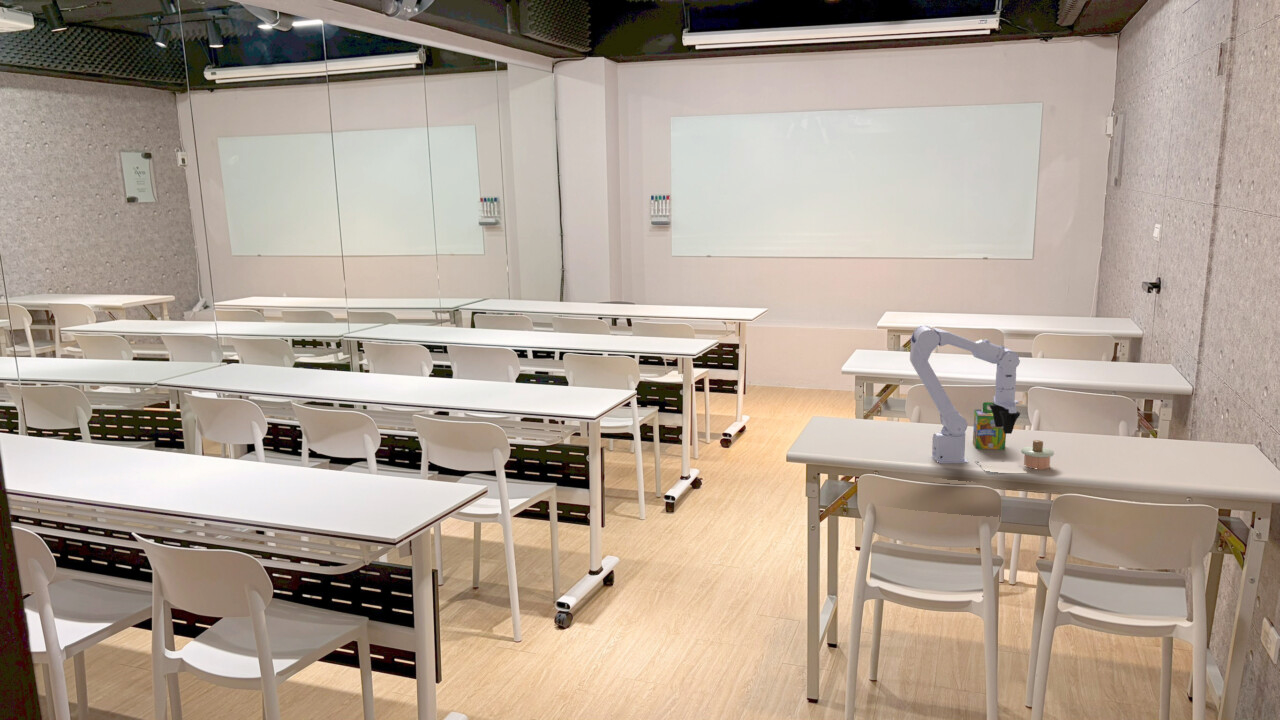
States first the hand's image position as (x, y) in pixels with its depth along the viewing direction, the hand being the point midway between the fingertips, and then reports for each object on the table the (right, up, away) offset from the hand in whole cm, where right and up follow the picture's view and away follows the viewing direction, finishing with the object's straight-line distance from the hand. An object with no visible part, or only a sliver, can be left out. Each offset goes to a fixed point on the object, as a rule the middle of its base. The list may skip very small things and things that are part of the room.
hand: (1003, 429), depth 267 cm
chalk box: (+2, -7, +17) cm, 18 cm away
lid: (+8, -6, -6) cm, 12 cm away
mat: (-3, -11, -6) cm, 13 cm away
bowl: (+8, -11, -6) cm, 15 cm away
